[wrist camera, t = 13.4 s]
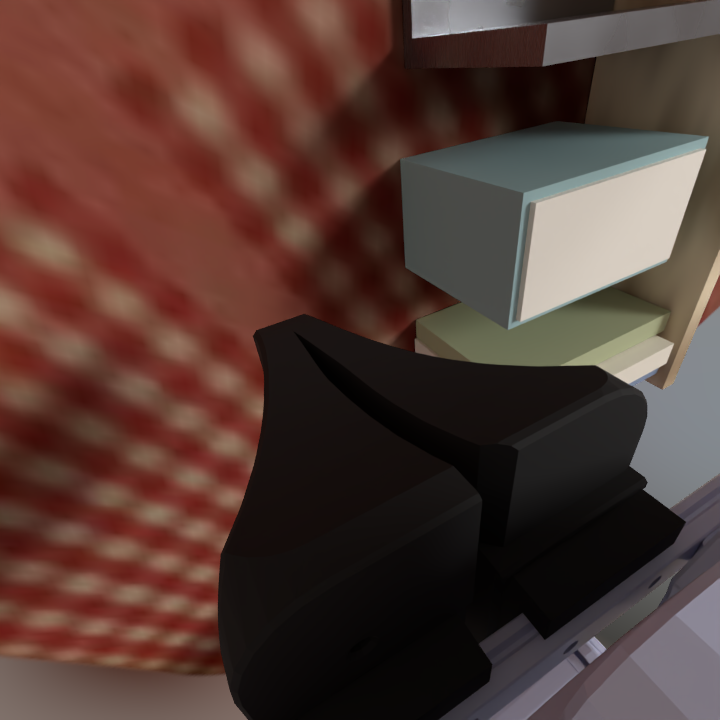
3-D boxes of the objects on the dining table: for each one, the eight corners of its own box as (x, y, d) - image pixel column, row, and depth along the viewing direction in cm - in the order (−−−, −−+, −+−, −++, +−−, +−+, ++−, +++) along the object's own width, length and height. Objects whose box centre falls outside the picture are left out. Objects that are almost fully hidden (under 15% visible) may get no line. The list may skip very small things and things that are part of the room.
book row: (548, 315, 25) (666, 376, 20) (415, 372, 22) (513, 461, 17) (557, 265, 24) (689, 319, 18) (414, 320, 21) (523, 403, 15)
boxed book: (541, 220, 21) (671, 263, 17) (404, 266, 19) (511, 332, 14) (555, 120, 19) (715, 137, 14) (399, 158, 16) (529, 194, 11)
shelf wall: (557, 322, 26) (673, 383, 21) (547, 326, 26) (662, 389, 21) (640, -105, 16) (917, -194, 10) (625, -104, 15) (901, -196, 10)
